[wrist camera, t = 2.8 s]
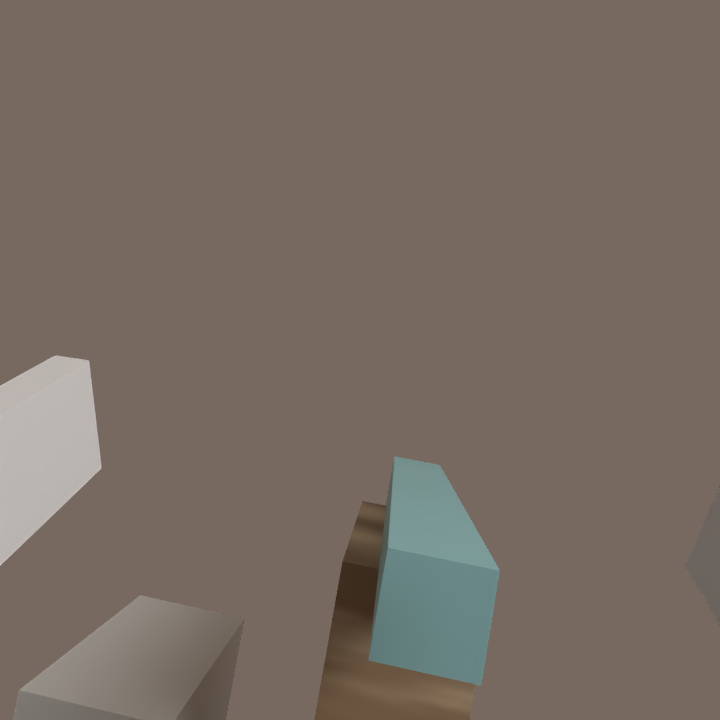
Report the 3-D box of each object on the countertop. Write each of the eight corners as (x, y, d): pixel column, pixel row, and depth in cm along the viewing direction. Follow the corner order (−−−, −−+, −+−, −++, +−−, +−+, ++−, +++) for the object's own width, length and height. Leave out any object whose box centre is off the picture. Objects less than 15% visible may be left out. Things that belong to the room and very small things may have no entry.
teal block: (481, 685, 16) (499, 570, 16) (368, 660, 16) (387, 547, 16) (431, 510, 40) (439, 465, 40) (386, 501, 40) (394, 456, 40)
